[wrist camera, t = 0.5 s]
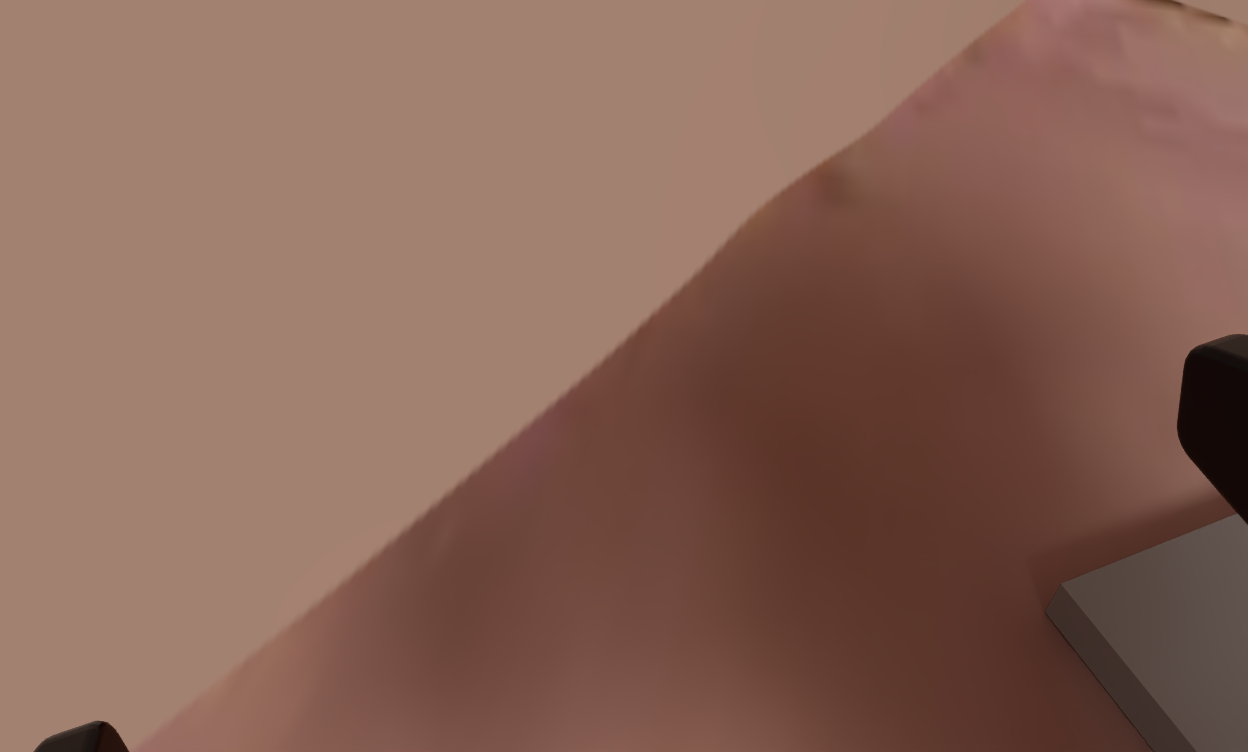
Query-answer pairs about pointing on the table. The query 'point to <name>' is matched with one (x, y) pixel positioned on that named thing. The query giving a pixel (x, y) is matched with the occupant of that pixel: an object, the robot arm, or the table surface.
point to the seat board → (1170, 637)
